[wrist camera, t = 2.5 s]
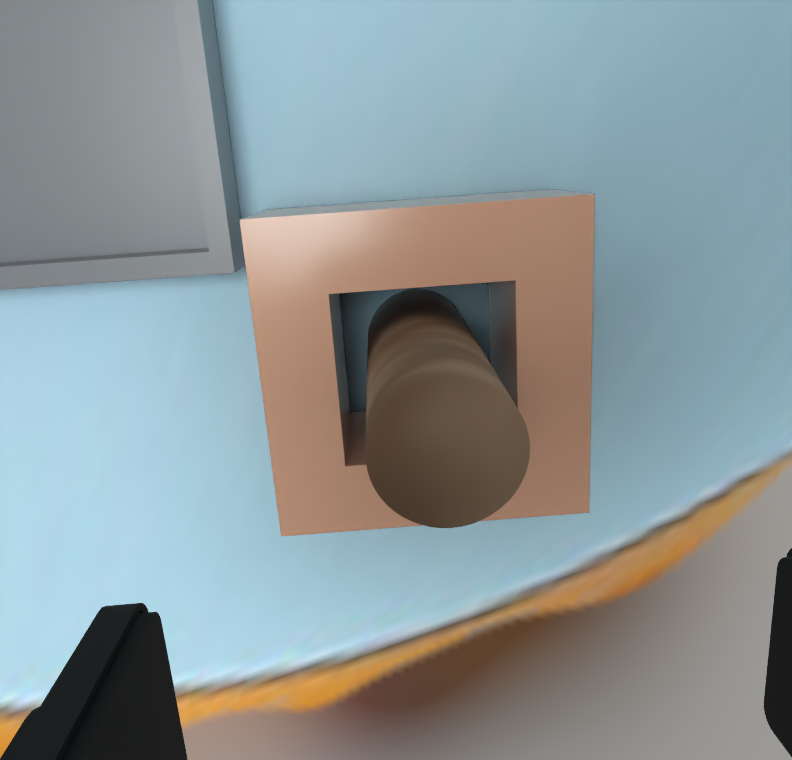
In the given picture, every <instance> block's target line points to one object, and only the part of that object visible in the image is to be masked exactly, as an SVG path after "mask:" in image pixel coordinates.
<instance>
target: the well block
mask: <svg viewBox="0 0 792 760" xmlns="http://www.w3.org/2000/svg"><path fill="white" fill-rule="evenodd" d="M594 206H595V194H589V193H580V192H572V191H563V190H554V189H546V190H532V191H518V192H504V193H490V194H476V195H462V196H448V197H434V198H420V199H406V200H392V201H378V202H364V203H350V204H335V205H321V206H307V207H293V208H279V209H266V210H263V211H261V212H258V213H255V214H253V215H250V216H247V217H245V218H242V219H240V227H241V235H242V242H243V250H244V257H245V265H246V273H247V280H248V288H249V295H250V303H251V311H252V318H253V326H254V333H255V341H256V348H257V356H258V364H259V371H260V379H261V386H262V394H263V402H264V409H265V417H266V424H267V432H268V440H269V447H270V455H271V462H272V470H273V477H274V485H275V493H276V500H277V508H278V515H279V523H280V531H281V536H291V535H304V534H317V533H330V532H343V531H356V530H369V529H382V528H394V527H407V526H420V524H418V523H415V522H412V521H410V520H408V519H406V518H404V517H402V516H400V515H399V514H397V513H396V512H394V511H393V510H392V509H391V508H390V507H389V506H387V505H386V504H385V502H384V501H383V500H382V499H381V498H380V497H379V495H378V494H377V492H376V490H375V489H374V487H373V485H372V483H371V481H370V478H369V475H368V471H367V466H366V453H365V449H366V411H362V412H350V406H349V395H348V384H347V374H346V363H345V352H344V341H343V331H342V320H341V309H340V298H339V293H349V292H363V291H377V290H391V289H404V288H418V287H432V286H445V285H459V284H473V283H486V282H489V315H490V351H491V366H492V367H493V369H494V371H495V372H496V374H497V375H498V377H499V379H500V380H501V382H502V384H503V385H504V387H505V389H506V390H507V392H508V394H509V395H510V397H511V398H512V400H513V402H514V403H515V405H516V407H517V408H518V410H519V412H520V414H521V415H522V417H523V419H524V421H525V424H526V427H527V430H528V434H529V440H530V458H529V463H528V468H527V471H526V474H525V477H524V479H523V481H522V483H521V485H520V487H519V488H518V490H517V491H516V493H515V494H514V495H513V496H512V498H511V499H510V500H509V501H508V502H507V503H506V504H505V505H504V506H503V507H501V508H500V509H499V510H498V511H496V512H495V513H493V514H492V515H490V516H488V517H486V518H485V519H483V520H480V521H485V520H498V519H511V518H524V517H537V516H550V515H563V514H576V513H589V496H590V438H591V380H592V322H593V264H594Z"/></svg>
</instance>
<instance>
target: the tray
mask: <svg viewBox="0 0 792 760" xmlns="http://www.w3.org/2000/svg"><path fill="white" fill-rule="evenodd" d="M240 219H241V216H240V209H239V201H238V194H237V186H236V178H235V171H234V163H233V155H232V148H231V140H230V133H229V125H228V117H227V110H226V102H225V94H224V87H223V79H222V72H221V64H220V56H219V49H218V41H217V33H216V26H215V18H214V11H213V3H212V0H0V290H3V289H17V288H31V287H45V286H59V285H72V284H86V283H100V282H114V281H128V280H141V279H155V278H169V277H183V276H197V275H210V274H224V273H235V272H236V271H238V270H239V269H240V268H241V267H243V266H244V265H245V257H244V250H243V242H242V235H241V227H240Z"/></svg>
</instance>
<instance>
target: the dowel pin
mask: <svg viewBox="0 0 792 760" xmlns="http://www.w3.org/2000/svg"><path fill="white" fill-rule="evenodd" d="M365 453H366V466H367V471H368V475H369V478H370V481H371V483H372V485H373V487H374V489H375V490H376V492H377V494H378V495H379V497H380V498H381V499H382V500H383V501H384V502H385V504H386V505H387V506H389V507H390V508H391V509H392V510H393V511H394V512H396V513H397V514H399V515H400V516H402V517H404V518H406V519H408V520H410V521H412V522H415V523H418V524H420V525H425V526H429V527H437V528H453V527H461V526H465V525H469V524H473V523H475V522H478V521H480V520H483V519H485V518H486V517H488V516H490V515H492V514H493V513H495V512H496V511H498V510H499V509H500V508H501V507H503V506H504V505H505V504H506V503H507V502H508V501H509V500H510V499H511V498H512V496H513V495H514V494H515V493H516V491H517V490H518V488H519V487H520V485H521V483H522V481H523V479H524V477H525V474H526V471H527V468H528V463H529V458H530V440H529V434H528V430H527V427H526V424H525V421H524V419H523V417H522V415H521V414H520V412H519V410H518V408H517V407H516V405H515V403H514V402H513V400H512V398H511V397H510V395H509V394H508V392H507V390H506V389H505V387H504V385H503V384H502V382H501V380H500V379H499V377H498V375H497V374H496V372H495V371H494V369H493V367H492V366H491V364H490V362H489V361H488V359H487V357H486V356H485V354H484V352H483V351H482V349H481V348H480V346H479V344H478V343H477V341H476V339H475V338H474V336H473V334H472V333H471V331H470V329H469V328H468V326H467V325H466V323H465V321H464V320H463V318H462V316H461V315H460V313H459V311H458V310H457V309H456V307H455V306H454V305H453V304H452V303H451V302H450V301H449V300H448V299H446V298H445V297H443V296H442V295H440V294H438V293H435V292H432V291H429V290H422V289H413V290H407V291H403V292H400V293H398V294H395V295H393V296H392V297H390V298H389V299H387V300H386V301H385V302H384V303H383V304H382V305H381V306H380V307H379V308H378V309H377V311H376V312H375V314H374V316H373V318H372V320H371V323H370V326H369V331H368V359H367V404H366V449H365Z"/></svg>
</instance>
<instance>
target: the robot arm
mask: <svg viewBox="0 0 792 760" xmlns="http://www.w3.org/2000/svg"><path fill="white" fill-rule="evenodd" d="M764 710H765V715H766V718H767V721H768V724H769V726H770V728H771V729H772V731H773V732H774V734H775V735H776V737H777V738H778V739H779V741H780V742H781V743H782V744H783V746H784V747H785V748H786V750H787V751H788V753H789V754H790V755H791V757H792V549H790V550H789V552H788V554H787V557H785V558H782V559H781V560H780V561H779V563H778V566H777V575H776V585H775V595H774V605H773V616H772V625H771V636H770V647H769V657H768V666H767V677H766V686H765V696H764ZM0 760H187V755H186V749H185V744H184V739H183V733H182V728H181V723H180V718H179V712H178V707H177V702H176V697H175V691H174V686H173V681H172V676H171V670H170V665H169V660H168V655H167V649H166V644H165V639H164V634H163V628H162V623H161V619H160V616H159V614H158V613H157V612H150V613H148V609H147V608H146V606H145V605H144V604H143V603H137V604H125V605H114V606H105V607H102V608H101V609H100V611H99V612H98V613H97V615H96V617H95V618H94V620H93V622H92V623H91V625H90V626H89V628H88V630H87V631H86V633H85V635H84V636H83V638H82V639H81V641H80V643H79V644H78V646H77V648H76V649H75V651H74V652H73V654H72V656H71V657H70V659H69V661H68V662H67V664H66V666H65V667H64V669H63V670H62V672H61V674H60V675H59V677H58V679H57V680H56V682H55V683H54V685H53V687H52V688H51V690H50V692H49V693H48V695H47V696H46V698H45V700H44V701H43V703H42V705H41V706H40V707H38V708H36V709H34V710H33V711H32V712H31V713H30V714H29V715H28V716H27V718H26V719H25V720H24V722H23V723H22V725H21V727H20V728H19V730H18V731H17V733H16V735H15V736H14V738H13V739H12V741H11V742H10V744H9V746H8V747H7V749H6V750H5V752H4V754H3V755H2V757H1V758H0Z"/></svg>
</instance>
